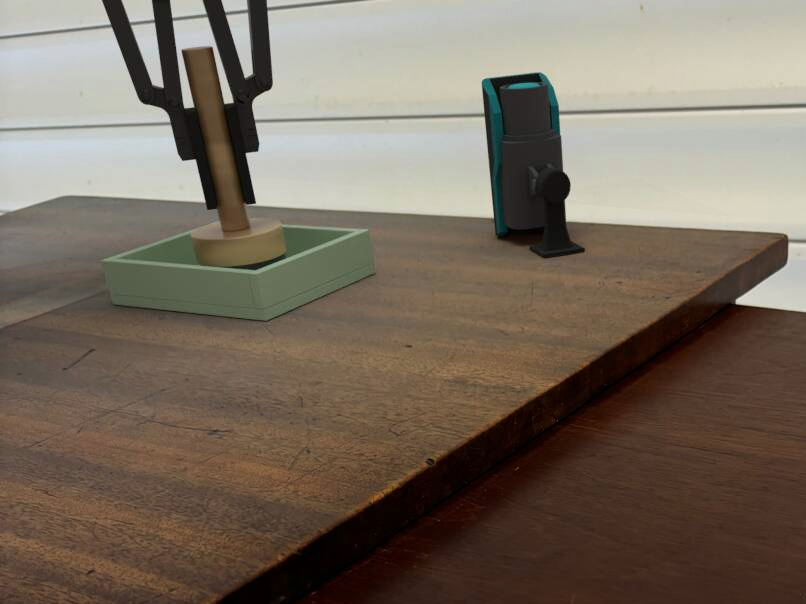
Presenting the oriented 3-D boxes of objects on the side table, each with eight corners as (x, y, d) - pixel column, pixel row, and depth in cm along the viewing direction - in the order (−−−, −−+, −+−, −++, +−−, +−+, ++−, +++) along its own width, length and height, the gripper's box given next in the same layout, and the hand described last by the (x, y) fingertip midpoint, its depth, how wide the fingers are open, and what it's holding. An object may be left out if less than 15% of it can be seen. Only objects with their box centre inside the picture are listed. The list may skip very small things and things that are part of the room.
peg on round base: (180, 273, 91) (125, 55, 82) (239, 251, 96) (194, 43, 87) (248, 279, 88) (199, 53, 79) (307, 256, 93) (266, 40, 84)
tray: (112, 304, 91) (100, 260, 89) (229, 261, 101) (220, 220, 99) (266, 321, 85) (256, 273, 83) (375, 273, 94) (369, 229, 92)
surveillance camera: (519, 90, 88) (478, 79, 95) (532, 259, 95) (493, 236, 102) (588, 81, 89) (543, 71, 97) (596, 249, 96) (553, 227, 104)
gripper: (16, -187, 71) (127, 227, 85) (268, -204, 74) (336, 199, 88) (25, -178, 77) (128, 208, 91) (258, -194, 80) (324, 182, 94)
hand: (230, 203), depth 89 cm, fingers closed on peg on round base, 2 cm apart
